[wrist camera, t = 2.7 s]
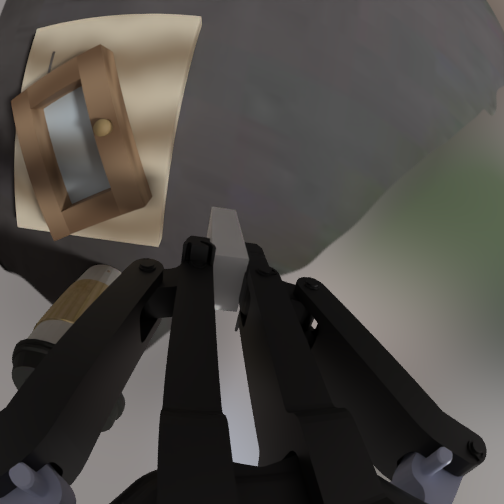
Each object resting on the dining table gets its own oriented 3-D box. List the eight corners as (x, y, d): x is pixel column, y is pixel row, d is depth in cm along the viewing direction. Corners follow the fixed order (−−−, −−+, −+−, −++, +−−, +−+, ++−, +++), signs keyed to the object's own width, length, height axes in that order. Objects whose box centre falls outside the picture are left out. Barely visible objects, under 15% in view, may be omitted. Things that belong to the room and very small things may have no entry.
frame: (28, 100, 14) (5, 101, 11) (112, 51, 14) (96, 41, 11) (68, 228, 20) (50, 245, 17) (152, 196, 21) (142, 210, 17)
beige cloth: (47, 32, 13) (36, 28, 11) (201, 24, 16) (201, 16, 14) (27, 219, 21) (17, 227, 19) (161, 237, 25) (158, 247, 23)
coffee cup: (69, 308, 27) (22, 408, 14) (70, 237, 23) (-11, 337, 10) (142, 332, 30) (122, 445, 16) (156, 263, 26) (122, 392, 13)
